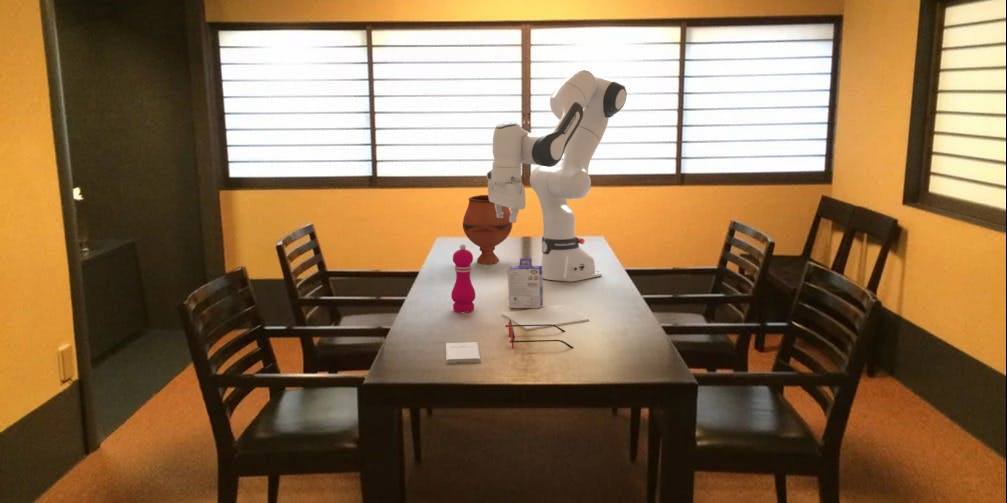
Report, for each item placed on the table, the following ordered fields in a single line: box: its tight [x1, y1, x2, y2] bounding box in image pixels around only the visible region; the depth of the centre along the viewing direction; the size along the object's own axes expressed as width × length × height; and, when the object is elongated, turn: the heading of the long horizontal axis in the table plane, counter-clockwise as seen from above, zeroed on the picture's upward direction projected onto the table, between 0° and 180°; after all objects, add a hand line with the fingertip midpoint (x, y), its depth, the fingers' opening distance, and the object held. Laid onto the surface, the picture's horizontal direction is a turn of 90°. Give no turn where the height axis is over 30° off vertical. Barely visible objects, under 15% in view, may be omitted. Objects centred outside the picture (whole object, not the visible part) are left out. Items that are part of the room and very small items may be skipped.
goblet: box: [462, 194, 513, 265], centre depth 287 cm, size 19×19×25 cm
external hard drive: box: [445, 341, 481, 364], centre depth 188 cm, size 2×8×12 cm
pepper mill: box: [450, 243, 476, 313], centre depth 224 cm, size 7×7×20 cm
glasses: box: [505, 319, 575, 349], centre depth 198 cm, size 14×16×5 cm
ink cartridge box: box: [507, 258, 544, 309], centre depth 227 cm, size 10×6×14 cm, turn 79°
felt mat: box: [501, 304, 590, 331], centre depth 218 cm, size 20×16×1 cm
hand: (506, 220), depth 235 cm, fingers open, 8 cm apart
